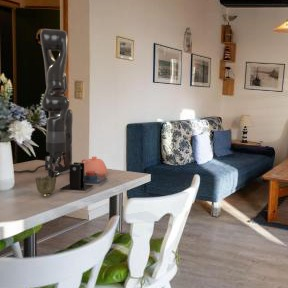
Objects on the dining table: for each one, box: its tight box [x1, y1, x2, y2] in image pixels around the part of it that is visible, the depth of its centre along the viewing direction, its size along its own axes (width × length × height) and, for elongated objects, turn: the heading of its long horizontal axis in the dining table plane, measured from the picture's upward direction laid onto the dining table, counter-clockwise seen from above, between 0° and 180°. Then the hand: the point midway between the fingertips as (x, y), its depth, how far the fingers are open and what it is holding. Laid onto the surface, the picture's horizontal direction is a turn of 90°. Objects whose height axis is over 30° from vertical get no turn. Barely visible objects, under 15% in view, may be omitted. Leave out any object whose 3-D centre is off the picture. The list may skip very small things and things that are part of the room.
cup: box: [35, 175, 57, 197], centre depth 153 cm, size 8×7×8 cm
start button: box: [86, 171, 95, 176], centre depth 179 cm, size 4×4×2 cm
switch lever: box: [54, 164, 82, 178], centre depth 165 cm, size 12×5×2 cm, turn 91°
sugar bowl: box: [80, 156, 108, 176], centre depth 192 cm, size 12×14×10 cm
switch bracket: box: [59, 161, 94, 192], centre depth 166 cm, size 11×9×12 cm
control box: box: [84, 173, 108, 185], centre depth 179 cm, size 12×10×4 cm
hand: (56, 177), depth 165 cm, fingers open, 8 cm apart
